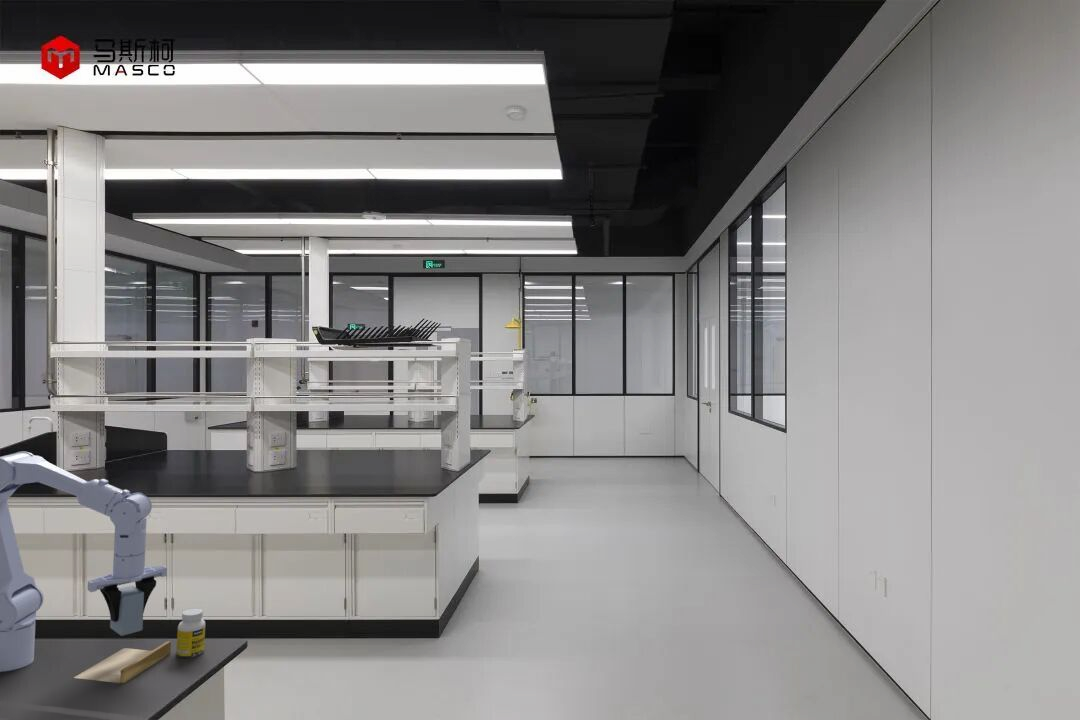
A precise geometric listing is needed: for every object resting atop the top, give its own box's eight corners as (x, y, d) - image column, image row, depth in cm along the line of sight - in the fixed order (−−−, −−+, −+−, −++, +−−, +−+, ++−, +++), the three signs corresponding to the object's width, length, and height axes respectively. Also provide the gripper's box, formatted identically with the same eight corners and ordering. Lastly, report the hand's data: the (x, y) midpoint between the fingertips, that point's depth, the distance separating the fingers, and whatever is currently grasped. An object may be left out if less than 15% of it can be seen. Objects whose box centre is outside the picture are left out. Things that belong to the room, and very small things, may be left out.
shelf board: (72, 681, 134) (73, 665, 134) (124, 651, 148) (124, 636, 148) (123, 687, 133) (124, 670, 133) (170, 656, 147) (171, 641, 147)
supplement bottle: (192, 663, 144) (194, 617, 144) (170, 659, 146) (172, 614, 146) (209, 652, 150) (211, 608, 150) (188, 649, 151) (190, 605, 151)
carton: (121, 635, 139) (123, 597, 139) (110, 627, 142) (111, 589, 142) (143, 629, 142) (145, 592, 142) (131, 622, 146) (133, 585, 146)
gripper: (97, 564, 134) (94, 632, 134) (174, 550, 145) (171, 612, 145) (84, 556, 138) (82, 622, 138) (160, 543, 150) (157, 604, 150)
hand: (127, 617), depth 142 cm, fingers closed on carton, 4 cm apart
